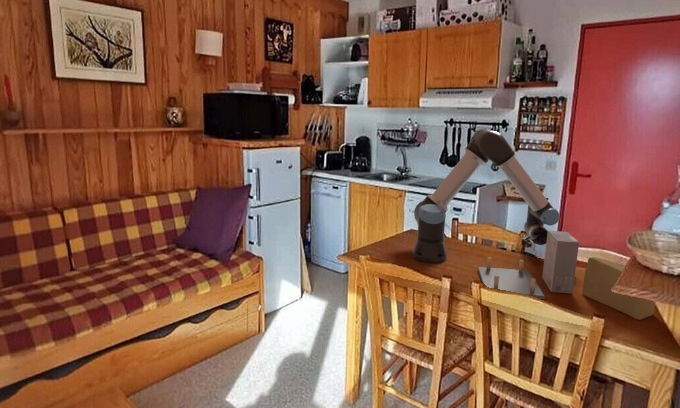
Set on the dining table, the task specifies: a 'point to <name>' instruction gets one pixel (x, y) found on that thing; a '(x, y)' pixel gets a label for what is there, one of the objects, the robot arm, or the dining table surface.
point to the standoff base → (510, 279)
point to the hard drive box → (560, 261)
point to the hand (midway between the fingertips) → (551, 249)
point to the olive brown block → (603, 279)
